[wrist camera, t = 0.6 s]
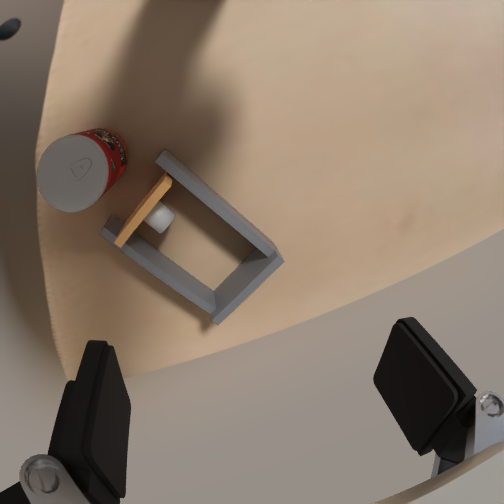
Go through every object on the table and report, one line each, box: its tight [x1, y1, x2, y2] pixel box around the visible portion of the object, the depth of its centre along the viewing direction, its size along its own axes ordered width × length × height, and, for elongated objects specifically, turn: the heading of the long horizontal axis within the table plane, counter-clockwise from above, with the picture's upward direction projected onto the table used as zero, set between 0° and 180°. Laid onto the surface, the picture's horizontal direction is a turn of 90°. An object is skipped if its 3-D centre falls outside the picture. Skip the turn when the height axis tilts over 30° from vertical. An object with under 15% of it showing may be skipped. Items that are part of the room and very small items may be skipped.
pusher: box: [114, 172, 175, 248], centre depth 37 cm, size 4×9×7 cm, turn 135°
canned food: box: [37, 129, 127, 213], centre depth 31 cm, size 8×8×11 cm
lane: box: [99, 149, 284, 325], centre depth 40 cm, size 20×12×6 cm, turn 45°
